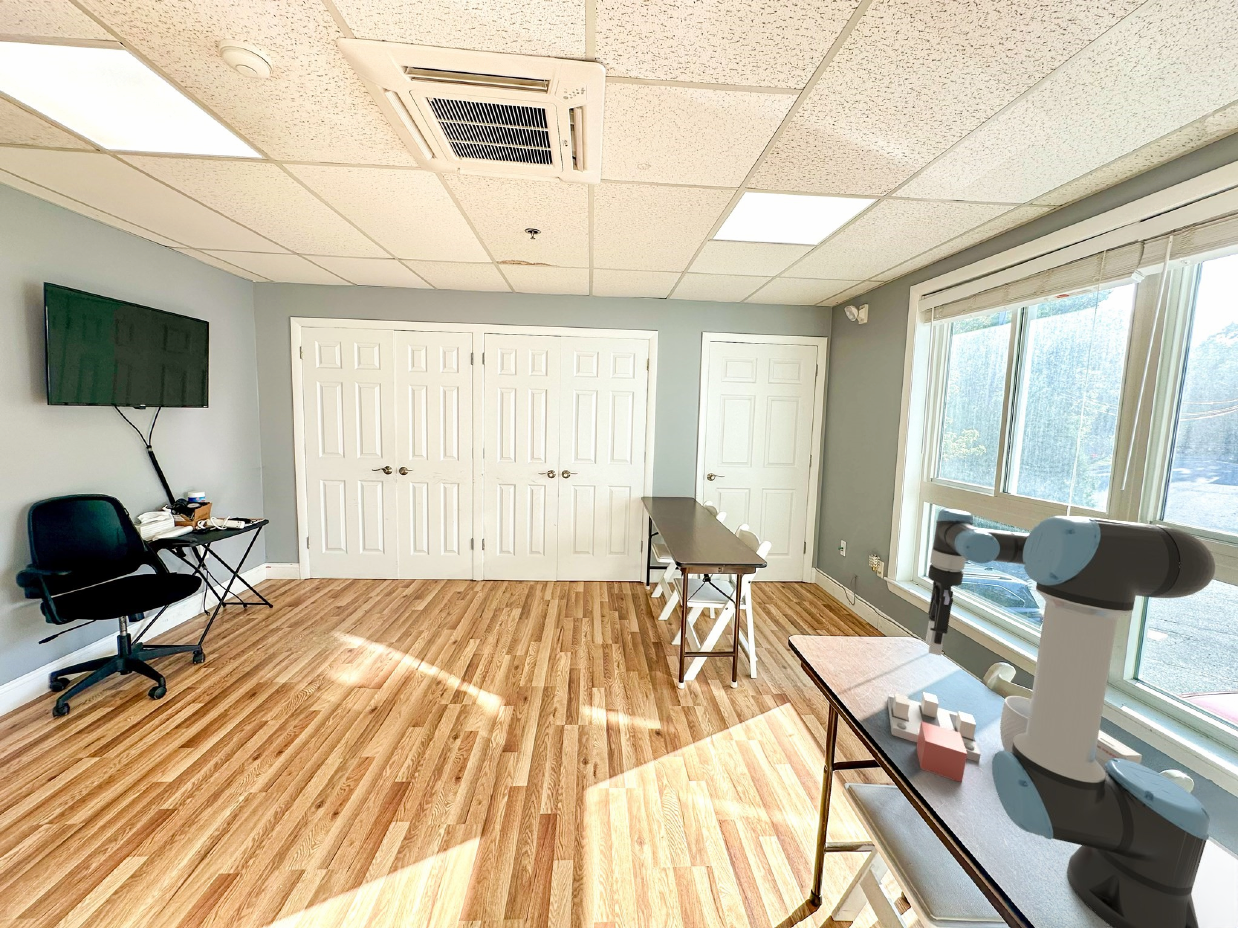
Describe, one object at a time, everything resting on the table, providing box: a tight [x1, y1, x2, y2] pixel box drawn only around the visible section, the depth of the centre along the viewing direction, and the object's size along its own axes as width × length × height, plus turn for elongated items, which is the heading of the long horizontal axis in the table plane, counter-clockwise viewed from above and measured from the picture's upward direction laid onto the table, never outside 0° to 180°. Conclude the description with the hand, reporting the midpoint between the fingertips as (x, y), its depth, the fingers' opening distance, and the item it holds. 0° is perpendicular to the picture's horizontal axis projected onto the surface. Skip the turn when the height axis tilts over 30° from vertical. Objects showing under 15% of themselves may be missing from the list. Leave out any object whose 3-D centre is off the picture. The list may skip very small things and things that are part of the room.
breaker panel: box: [887, 693, 982, 763], centre depth 123 cm, size 16×18×2 cm
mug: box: [999, 695, 1031, 752], centre depth 111 cm, size 15×11×13 cm
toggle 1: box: [893, 693, 910, 720], centre depth 125 cm, size 4×3×4 cm
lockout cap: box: [916, 721, 968, 783], centre depth 110 cm, size 8×8×7 cm
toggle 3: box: [955, 710, 977, 739], centre depth 119 cm, size 4×3×4 cm
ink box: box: [1095, 729, 1143, 770], centre depth 105 cm, size 9×5×12 cm, turn 9°
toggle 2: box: [920, 691, 939, 718], centre depth 126 cm, size 4×3×4 cm
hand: (932, 648), depth 131 cm, fingers open, 5 cm apart
